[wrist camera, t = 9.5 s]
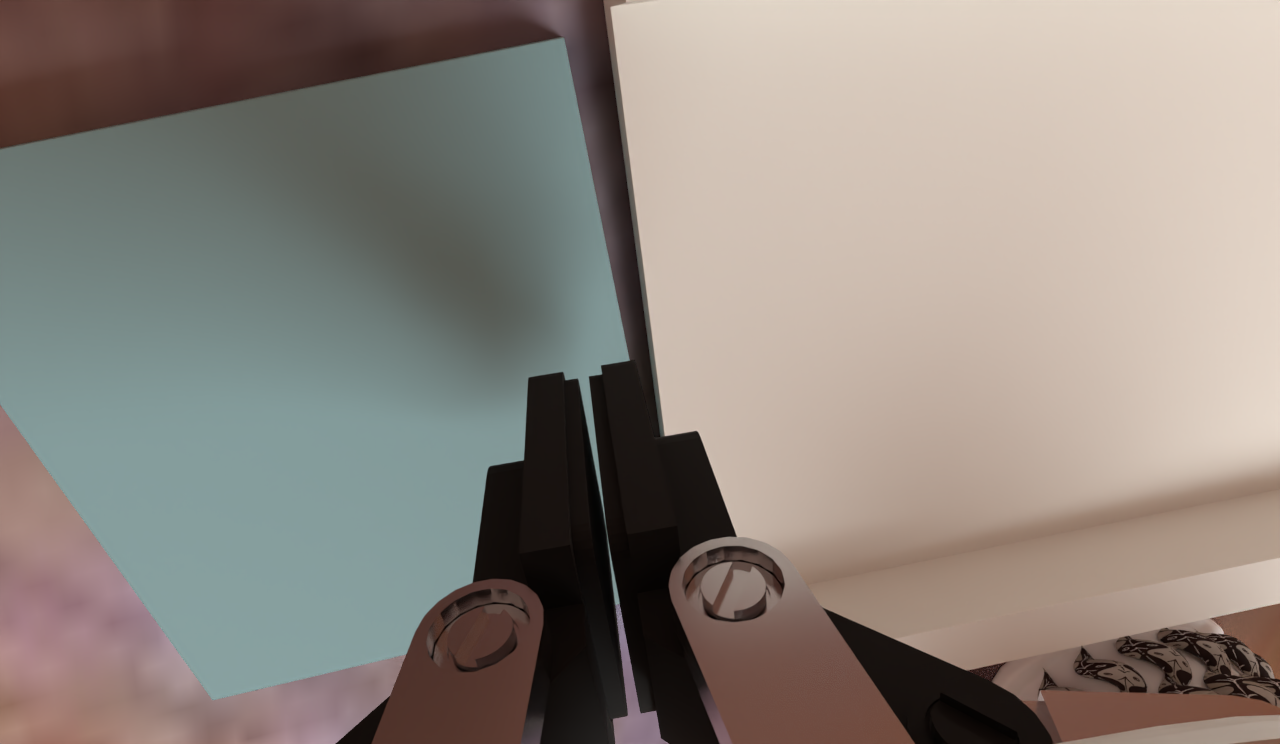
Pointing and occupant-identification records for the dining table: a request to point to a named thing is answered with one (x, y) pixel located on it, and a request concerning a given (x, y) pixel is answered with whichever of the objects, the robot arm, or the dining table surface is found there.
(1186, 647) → the decorative candle
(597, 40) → the dining table surface
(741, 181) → the white flat tray
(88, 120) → the dining table surface
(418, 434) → the cover plate
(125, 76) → the dining table surface
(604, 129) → the dining table surface
